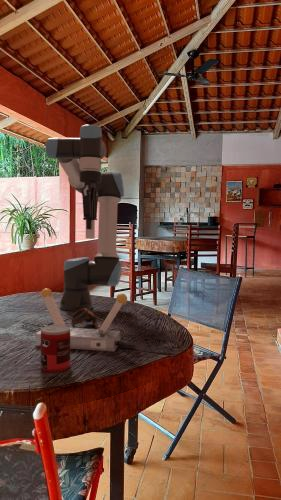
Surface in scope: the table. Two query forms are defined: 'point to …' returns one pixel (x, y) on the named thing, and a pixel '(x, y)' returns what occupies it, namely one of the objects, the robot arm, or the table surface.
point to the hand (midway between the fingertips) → (90, 238)
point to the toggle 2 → (113, 312)
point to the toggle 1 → (52, 306)
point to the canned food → (55, 348)
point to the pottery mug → (83, 317)
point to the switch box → (93, 340)
